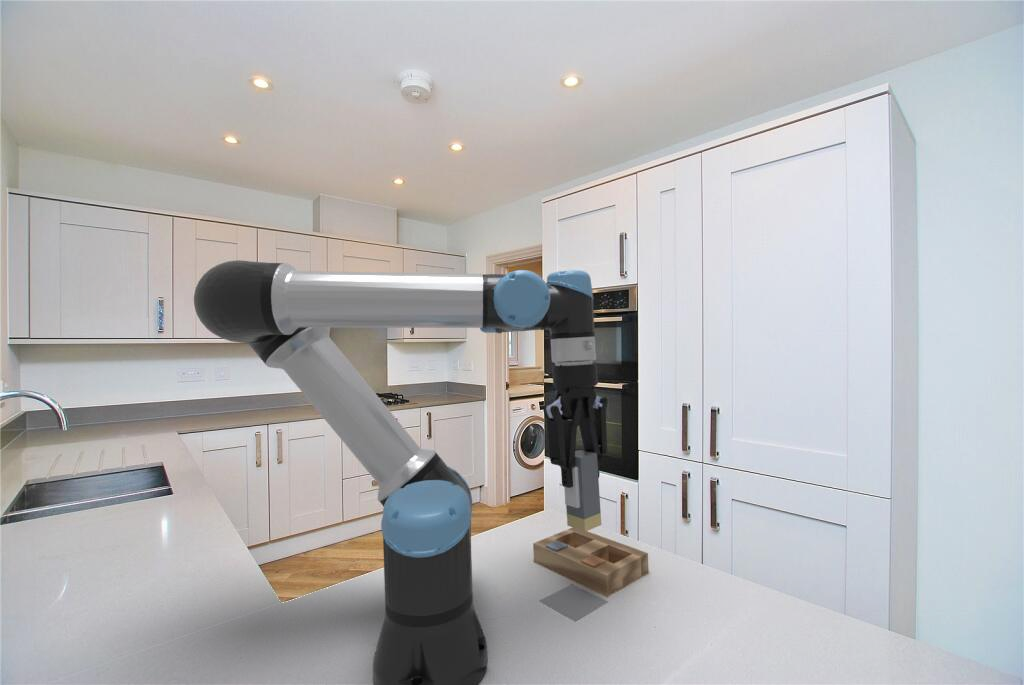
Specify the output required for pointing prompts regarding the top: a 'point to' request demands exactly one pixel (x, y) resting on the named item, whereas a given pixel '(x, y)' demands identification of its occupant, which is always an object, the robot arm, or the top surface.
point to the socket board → (598, 547)
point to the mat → (573, 602)
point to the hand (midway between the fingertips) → (582, 501)
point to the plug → (586, 493)
